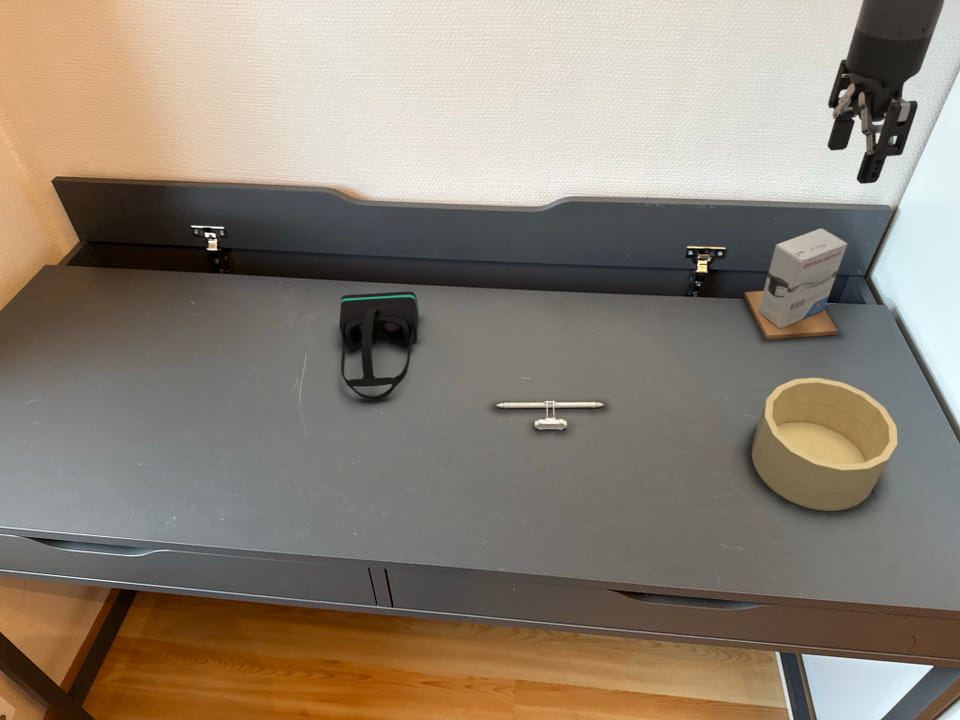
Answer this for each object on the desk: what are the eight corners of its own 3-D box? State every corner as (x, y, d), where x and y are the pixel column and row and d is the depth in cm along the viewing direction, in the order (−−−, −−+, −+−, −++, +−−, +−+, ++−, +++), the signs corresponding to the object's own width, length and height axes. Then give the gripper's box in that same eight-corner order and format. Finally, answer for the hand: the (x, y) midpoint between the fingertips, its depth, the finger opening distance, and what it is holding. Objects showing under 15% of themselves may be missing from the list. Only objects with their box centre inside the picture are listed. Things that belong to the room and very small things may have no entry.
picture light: (603, 404, 92) (604, 393, 91) (606, 429, 89) (607, 418, 88) (496, 405, 93) (495, 394, 92) (495, 430, 90) (495, 419, 88)
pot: (844, 416, 88) (863, 374, 83) (895, 507, 79) (921, 465, 73) (736, 424, 89) (749, 381, 83) (774, 514, 79) (790, 473, 74)
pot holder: (809, 291, 107) (810, 287, 106) (836, 334, 100) (838, 330, 99) (743, 296, 107) (744, 292, 106) (765, 339, 100) (767, 335, 99)
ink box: (800, 292, 105) (822, 225, 97) (825, 311, 102) (850, 243, 94) (755, 310, 103) (774, 243, 95) (779, 329, 100) (801, 261, 92)
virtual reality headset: (419, 317, 107) (411, 268, 99) (417, 407, 96) (408, 360, 88) (347, 321, 107) (333, 273, 99) (336, 411, 96) (320, 365, 88)
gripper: (967, 45, 69) (909, 191, 80) (899, 1, 80) (856, 136, 91) (891, 51, 69) (843, 196, 81) (832, 6, 80) (798, 140, 91)
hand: (850, 164), depth 86 cm, fingers open, 8 cm apart
